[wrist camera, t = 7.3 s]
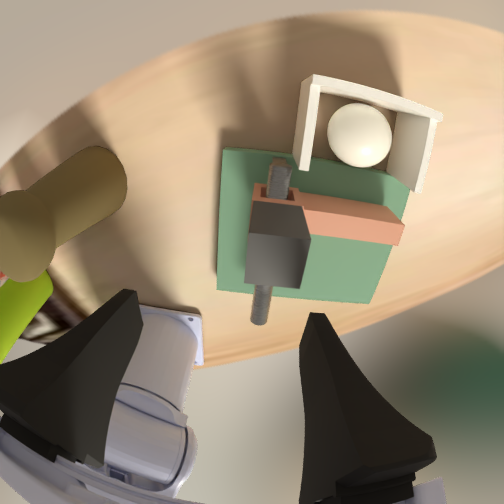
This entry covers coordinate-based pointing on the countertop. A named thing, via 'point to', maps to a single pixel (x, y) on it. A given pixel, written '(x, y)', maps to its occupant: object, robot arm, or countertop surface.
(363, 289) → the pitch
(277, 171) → the rod
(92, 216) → the cork
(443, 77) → the countertop surface
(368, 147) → the ball
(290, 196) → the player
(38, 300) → the soap dispenser
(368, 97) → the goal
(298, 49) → the countertop surface
